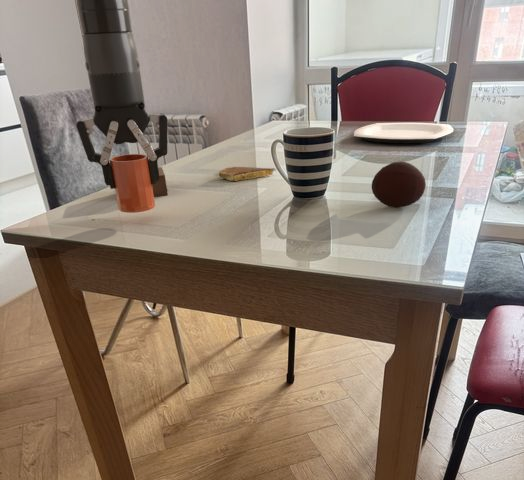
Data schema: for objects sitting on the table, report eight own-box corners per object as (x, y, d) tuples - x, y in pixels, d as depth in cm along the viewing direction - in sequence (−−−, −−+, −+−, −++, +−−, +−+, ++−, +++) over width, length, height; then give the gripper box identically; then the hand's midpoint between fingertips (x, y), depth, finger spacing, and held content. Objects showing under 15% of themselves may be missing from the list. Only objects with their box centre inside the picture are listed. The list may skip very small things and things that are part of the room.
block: (128, 199, 103) (124, 179, 101) (127, 190, 109) (123, 170, 107) (167, 195, 104) (164, 175, 102) (164, 185, 111) (161, 166, 109)
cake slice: (275, 175, 114) (274, 167, 113) (261, 183, 108) (261, 175, 107) (231, 173, 118) (231, 165, 117) (216, 181, 112) (215, 172, 111)
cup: (119, 214, 82) (109, 163, 78) (118, 204, 87) (109, 155, 83) (156, 210, 83) (148, 159, 79) (154, 201, 88) (146, 152, 84)
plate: (370, 128, 160) (370, 121, 159) (459, 130, 150) (460, 123, 148) (341, 144, 140) (342, 136, 139) (442, 148, 129) (443, 140, 128)
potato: (417, 216, 85) (423, 168, 81) (363, 211, 88) (366, 165, 84) (427, 203, 91) (433, 157, 87) (376, 199, 94) (379, 155, 90)
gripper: (161, 66, 79) (174, 176, 88) (65, 71, 76) (89, 184, 85) (164, 68, 73) (179, 186, 82) (60, 73, 70) (87, 195, 79)
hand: (133, 185), depth 83 cm, fingers closed on cup, 6 cm apart
